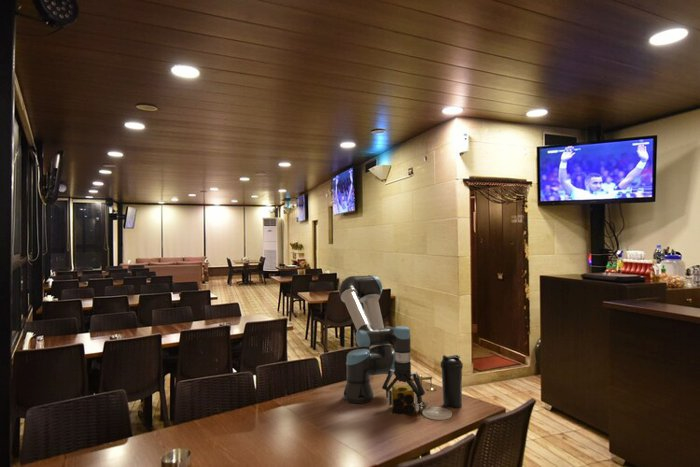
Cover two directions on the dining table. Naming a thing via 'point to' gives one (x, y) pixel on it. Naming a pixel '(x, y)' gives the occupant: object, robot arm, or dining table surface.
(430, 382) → the balance
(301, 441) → the dining table surface
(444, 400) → the water bottle
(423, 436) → the dining table surface
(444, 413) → the dish
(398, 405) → the candle
